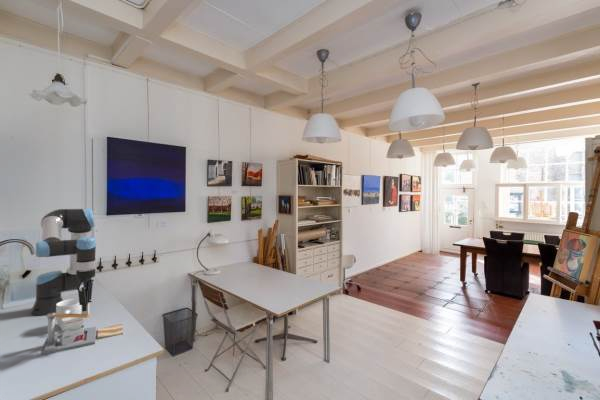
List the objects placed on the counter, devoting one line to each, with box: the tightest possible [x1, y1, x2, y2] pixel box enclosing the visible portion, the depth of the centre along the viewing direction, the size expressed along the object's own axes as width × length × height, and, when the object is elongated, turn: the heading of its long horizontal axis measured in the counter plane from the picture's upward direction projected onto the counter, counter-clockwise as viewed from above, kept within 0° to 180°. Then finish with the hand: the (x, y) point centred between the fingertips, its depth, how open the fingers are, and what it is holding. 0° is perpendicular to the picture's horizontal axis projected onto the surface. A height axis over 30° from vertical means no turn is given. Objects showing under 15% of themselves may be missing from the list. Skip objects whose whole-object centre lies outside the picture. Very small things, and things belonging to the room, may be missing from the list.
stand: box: [42, 317, 97, 356], centre depth 142 cm, size 18×19×14 cm
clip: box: [46, 312, 90, 319], centre depth 138 cm, size 3×19×1 cm, turn 93°
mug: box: [55, 298, 82, 327], centre depth 155 cm, size 15×11×13 cm
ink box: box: [59, 317, 85, 346], centre depth 142 cm, size 9×5×12 cm, turn 140°
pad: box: [97, 324, 124, 340], centre depth 152 cm, size 11×11×1 cm
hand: (85, 316), depth 140 cm, fingers closed
